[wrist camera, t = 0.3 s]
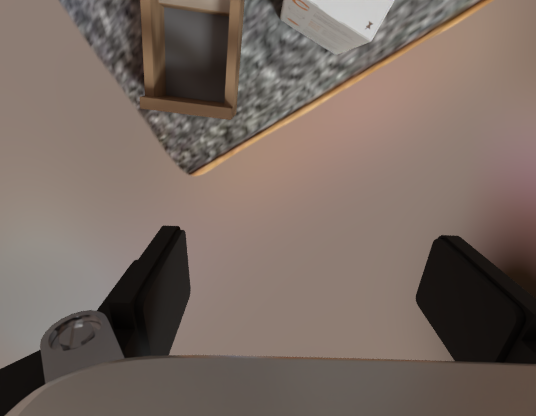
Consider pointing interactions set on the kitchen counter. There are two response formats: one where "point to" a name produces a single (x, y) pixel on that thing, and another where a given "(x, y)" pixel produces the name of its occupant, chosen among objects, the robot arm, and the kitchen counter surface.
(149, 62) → the brown long open tray
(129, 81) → the kitchen counter surface
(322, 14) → the small box
